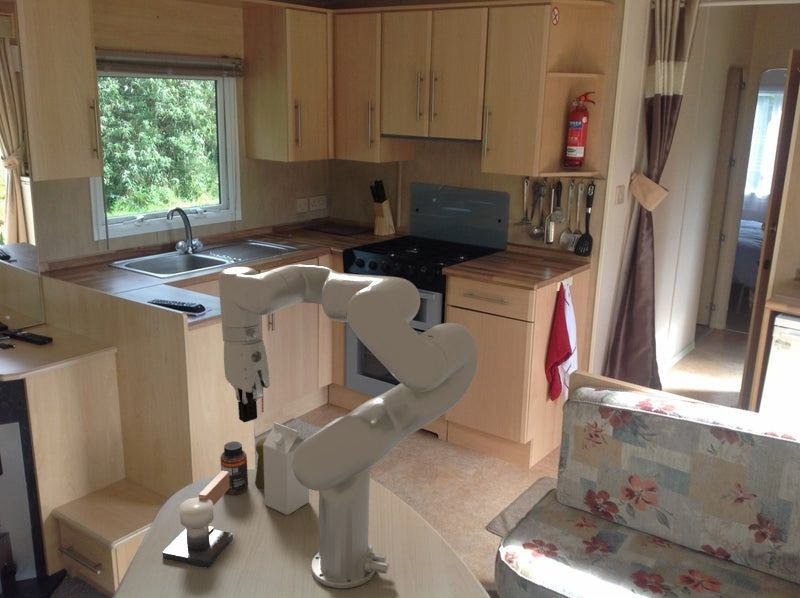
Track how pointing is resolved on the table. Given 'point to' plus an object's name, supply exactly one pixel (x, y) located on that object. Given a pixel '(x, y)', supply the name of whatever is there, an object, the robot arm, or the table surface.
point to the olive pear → (260, 464)
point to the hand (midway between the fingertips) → (248, 419)
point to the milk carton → (282, 471)
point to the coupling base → (198, 554)
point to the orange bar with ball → (204, 503)
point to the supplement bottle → (235, 467)
